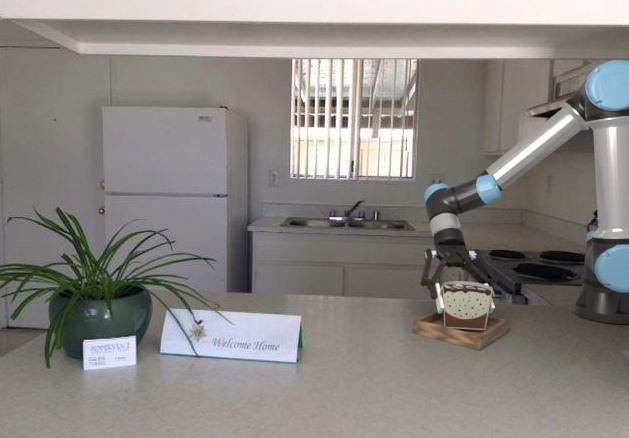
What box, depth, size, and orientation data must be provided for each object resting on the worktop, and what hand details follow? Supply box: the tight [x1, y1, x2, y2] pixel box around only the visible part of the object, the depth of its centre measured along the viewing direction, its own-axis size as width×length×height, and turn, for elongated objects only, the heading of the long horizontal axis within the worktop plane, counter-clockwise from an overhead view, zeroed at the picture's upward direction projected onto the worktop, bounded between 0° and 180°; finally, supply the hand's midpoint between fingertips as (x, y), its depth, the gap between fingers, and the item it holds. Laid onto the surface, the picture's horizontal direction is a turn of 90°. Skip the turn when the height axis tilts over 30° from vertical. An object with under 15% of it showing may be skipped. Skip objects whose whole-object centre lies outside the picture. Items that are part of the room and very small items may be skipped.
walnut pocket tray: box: [412, 309, 509, 351], centre depth 119 cm, size 16×16×3 cm
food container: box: [440, 280, 495, 330], centre depth 118 cm, size 12×6×10 cm, turn 86°
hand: (466, 310), depth 116 cm, fingers closed on food container, 11 cm apart
